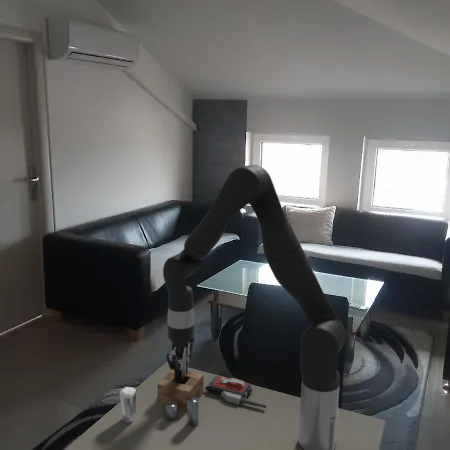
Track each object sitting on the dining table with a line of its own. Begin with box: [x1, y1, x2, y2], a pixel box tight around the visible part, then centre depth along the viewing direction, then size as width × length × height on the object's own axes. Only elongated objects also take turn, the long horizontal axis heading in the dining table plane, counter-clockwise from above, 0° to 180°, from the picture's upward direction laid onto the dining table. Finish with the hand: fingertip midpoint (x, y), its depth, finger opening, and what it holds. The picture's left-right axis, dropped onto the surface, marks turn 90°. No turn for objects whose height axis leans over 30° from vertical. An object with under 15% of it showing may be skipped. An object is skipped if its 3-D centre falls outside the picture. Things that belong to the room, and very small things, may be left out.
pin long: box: [176, 352, 186, 385], centre depth 142 cm, size 3×3×12 cm
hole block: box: [157, 369, 205, 411], centre depth 143 cm, size 10×10×6 cm
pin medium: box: [186, 398, 199, 428], centre depth 131 cm, size 3×3×7 cm
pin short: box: [165, 402, 178, 423], centre depth 133 cm, size 3×3×4 cm
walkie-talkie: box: [204, 375, 267, 409], centre depth 145 cm, size 9×4×20 cm
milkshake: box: [119, 386, 138, 424], centre depth 132 cm, size 5×5×10 cm
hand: (181, 376), depth 142 cm, fingers closed on pin long, 3 cm apart
